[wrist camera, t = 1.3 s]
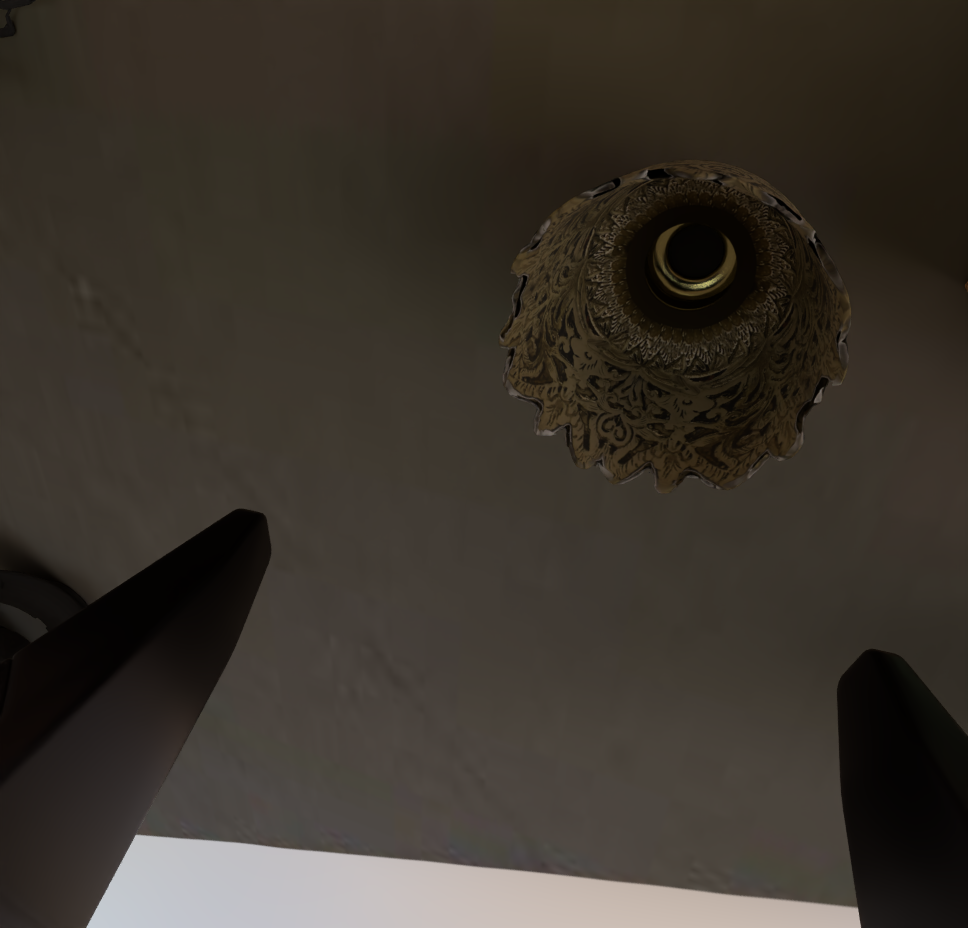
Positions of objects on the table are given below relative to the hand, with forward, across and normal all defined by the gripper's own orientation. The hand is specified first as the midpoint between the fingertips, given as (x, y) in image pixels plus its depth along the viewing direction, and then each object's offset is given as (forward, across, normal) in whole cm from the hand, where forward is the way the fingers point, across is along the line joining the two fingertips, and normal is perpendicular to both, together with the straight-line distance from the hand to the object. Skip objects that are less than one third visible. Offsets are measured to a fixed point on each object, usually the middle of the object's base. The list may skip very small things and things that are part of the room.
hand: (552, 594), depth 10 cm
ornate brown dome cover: (+15, -3, 0) cm, 15 cm away
